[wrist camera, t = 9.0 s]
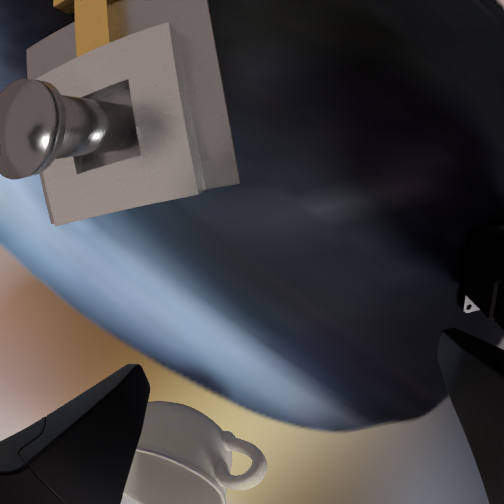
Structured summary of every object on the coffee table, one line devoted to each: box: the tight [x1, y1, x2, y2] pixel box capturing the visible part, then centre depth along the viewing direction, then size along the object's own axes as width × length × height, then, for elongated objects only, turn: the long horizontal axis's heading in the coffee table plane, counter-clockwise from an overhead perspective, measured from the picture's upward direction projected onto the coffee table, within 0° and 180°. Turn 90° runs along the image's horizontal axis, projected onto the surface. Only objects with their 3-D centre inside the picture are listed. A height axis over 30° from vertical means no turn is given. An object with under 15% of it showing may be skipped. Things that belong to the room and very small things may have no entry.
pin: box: [0, 79, 137, 179], centre depth 13 cm, size 4×4×9 cm
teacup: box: [123, 401, 267, 504], centre depth 22 cm, size 14×11×8 cm
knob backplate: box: [26, 0, 241, 226], centre depth 16 cm, size 14×17×2 cm
